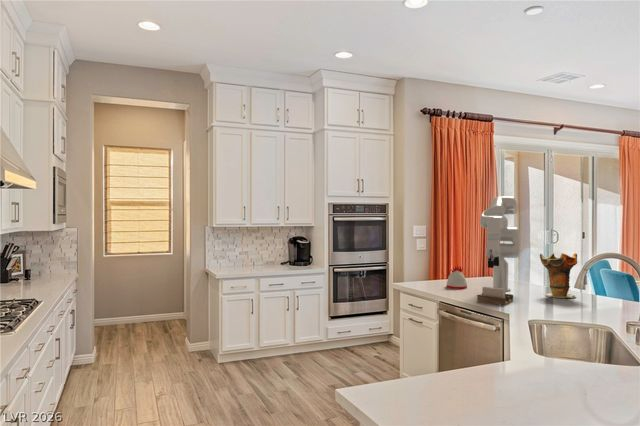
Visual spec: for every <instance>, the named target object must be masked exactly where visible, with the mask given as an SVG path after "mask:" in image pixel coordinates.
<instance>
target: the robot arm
mask: <svg viewBox="0 0 640 426" xmlns="http://www.w3.org/2000/svg"><path fill="white" fill-rule="evenodd" d="M518 209H519V206H518V202H517V200H516V198H515V197H514V196H495V197H493V199H492V200H491V203H489V207H488V208H487V209H485V210H483V211H482V212H481V214H480V219H479V226H480V227H481V228H483V229H486V240H487V241H486V251H485V252H486V253H485V254H486V255H485V256H486V258H487V268H488V269H489V268H490V269H492V286H491V287H492V288H501V289H505V292H510V291H511V288H510V287H509V263H508V262H507V260H506V258H507V259H508V258H509V259H517V258H519V257H520V255H521V234H520V230H519V228H518V227H515V226H514V227H512V226H511V227H509V226H508V224H509V221H508V218H507V216H506V215H516V214H517V213H518ZM500 242H501V243H500ZM503 242H505V243H503ZM506 242H509V243H506ZM510 242H511V243H510Z"/></svg>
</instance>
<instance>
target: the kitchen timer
mask: <svg viewBox="0 0 640 426" xmlns="http://www.w3.org/2000/svg"><path fill="white" fill-rule="evenodd" d="M452 269H453V270H452ZM463 270H464V268H463V267H462V266H456V265H455V267H453V268H451V269H450V271H451V273H450V274H449V275H448V277H447V280H446V288H447V289H451V290H452V289H453V290H467V289H468V283H467V279H466V276H465V275H464V274H463V272H462V271H463Z"/></svg>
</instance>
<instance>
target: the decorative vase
mask: <svg viewBox="0 0 640 426" xmlns="http://www.w3.org/2000/svg"><path fill="white" fill-rule="evenodd" d="M539 259H540V261H541V264H542V265H543V266H544V267H545V269H547V272H548V280H549V285H548V286H549V288H550V290H551V291H550V292H551V293H549V289H548V293H545V294H544V296H546V297H548V298H549V297H550V298H557V299H558V298H559V299H567V298H568V299H572V298H576V297H577V296H576V295H575V294H570V293H569V290H570V291H571V289H570V288H571V286H570V279H571V278H570V274H571V271H572V268H573V267H574V266H576V265H577V264H578V254H577V253H576V252H574V253H573V254H572V255H571V256H570V255H568V254H565V253H561V254H560V257H556V256H555V253H551V255H550V256H547V257H544V255H543V254H542V253H539Z"/></svg>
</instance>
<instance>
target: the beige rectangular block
mask: <svg viewBox="0 0 640 426" xmlns="http://www.w3.org/2000/svg"><path fill="white" fill-rule="evenodd" d="M492 287H493V286H491V287H490V286H482V292H481V293H482V295H483V296H491V297H499V298H505V294H506V291H505V289H501V288H492Z"/></svg>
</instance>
